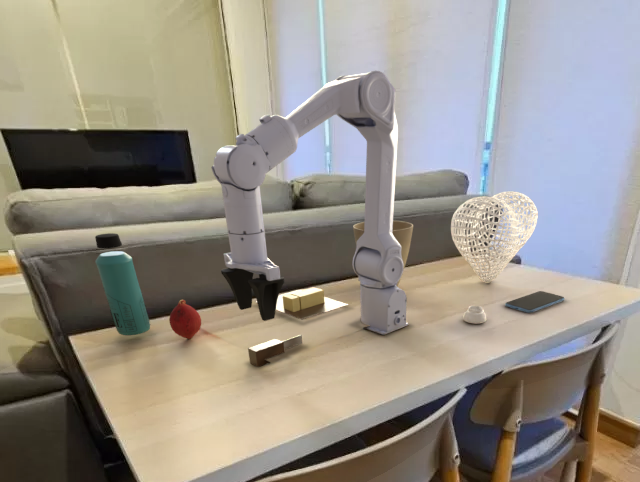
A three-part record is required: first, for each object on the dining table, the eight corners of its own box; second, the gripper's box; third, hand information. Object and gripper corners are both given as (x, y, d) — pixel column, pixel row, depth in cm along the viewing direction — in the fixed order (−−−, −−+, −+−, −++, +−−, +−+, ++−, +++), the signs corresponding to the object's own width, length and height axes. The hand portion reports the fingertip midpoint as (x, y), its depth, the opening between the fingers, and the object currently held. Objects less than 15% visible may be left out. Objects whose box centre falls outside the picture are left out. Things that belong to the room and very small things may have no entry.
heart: (486, 268, 140) (496, 187, 128) (535, 276, 131) (551, 191, 120) (435, 288, 122) (441, 197, 110) (488, 300, 113) (500, 202, 101)
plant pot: (375, 278, 131) (375, 218, 123) (421, 286, 123) (424, 223, 115) (342, 291, 120) (340, 226, 112) (390, 301, 113) (391, 232, 105)
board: (349, 308, 108) (348, 304, 108) (302, 324, 100) (301, 319, 99) (301, 293, 119) (300, 289, 119) (255, 305, 111) (254, 301, 110)
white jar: (470, 315, 104) (458, 321, 101) (472, 302, 102) (459, 308, 99) (490, 320, 101) (478, 326, 98) (492, 307, 99) (479, 313, 96)
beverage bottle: (160, 332, 96) (134, 231, 86) (136, 344, 90) (106, 238, 80) (135, 329, 98) (107, 229, 87) (110, 340, 92) (77, 236, 82)
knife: (257, 367, 81) (255, 351, 80) (250, 363, 83) (247, 348, 81) (306, 349, 88) (305, 334, 87) (298, 345, 90) (297, 331, 88)
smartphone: (503, 302, 108) (539, 290, 117) (503, 306, 109) (539, 293, 117) (530, 310, 103) (566, 296, 112) (530, 314, 104) (566, 300, 112)
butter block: (324, 302, 109) (323, 290, 108) (301, 309, 105) (300, 296, 103) (314, 299, 111) (314, 287, 110) (291, 306, 107) (290, 293, 105)
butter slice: (300, 310, 105) (299, 297, 103) (293, 312, 103) (292, 299, 102) (290, 306, 107) (289, 293, 105) (283, 308, 106) (282, 295, 104)
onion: (194, 345, 90) (186, 305, 86) (168, 343, 91) (158, 304, 87) (209, 334, 95) (202, 296, 91) (184, 332, 96) (175, 294, 92)
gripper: (202, 228, 76) (216, 308, 83) (247, 241, 67) (258, 330, 73) (240, 223, 80) (250, 300, 87) (288, 235, 71) (295, 320, 77)
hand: (256, 313), depth 80 cm, fingers open, 7 cm apart
